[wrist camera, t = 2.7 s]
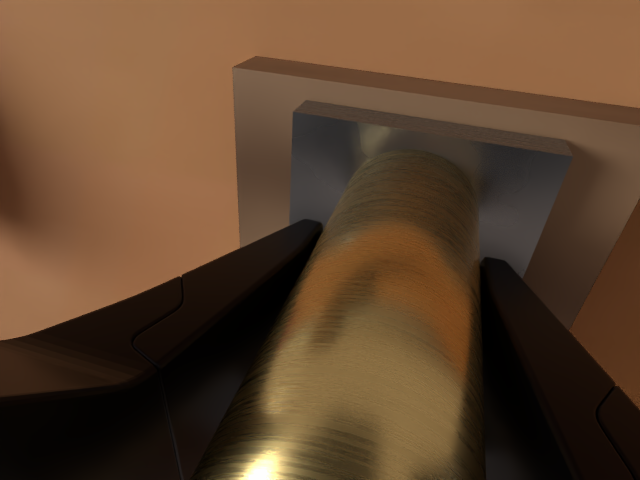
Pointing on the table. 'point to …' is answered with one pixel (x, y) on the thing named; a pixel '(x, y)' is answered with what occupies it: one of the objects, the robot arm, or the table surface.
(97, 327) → the robot arm
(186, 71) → the table surface
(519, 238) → the sliding jaw
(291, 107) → the cracker base
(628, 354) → the table surface
